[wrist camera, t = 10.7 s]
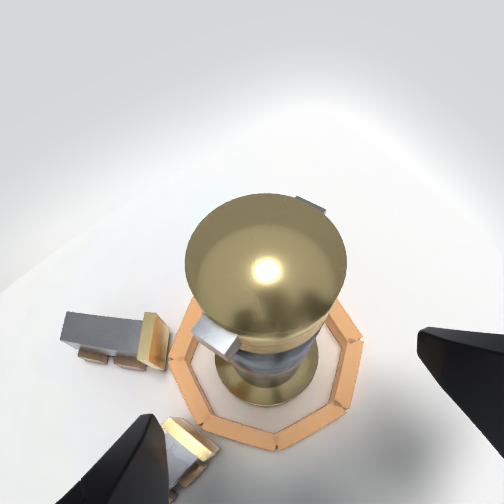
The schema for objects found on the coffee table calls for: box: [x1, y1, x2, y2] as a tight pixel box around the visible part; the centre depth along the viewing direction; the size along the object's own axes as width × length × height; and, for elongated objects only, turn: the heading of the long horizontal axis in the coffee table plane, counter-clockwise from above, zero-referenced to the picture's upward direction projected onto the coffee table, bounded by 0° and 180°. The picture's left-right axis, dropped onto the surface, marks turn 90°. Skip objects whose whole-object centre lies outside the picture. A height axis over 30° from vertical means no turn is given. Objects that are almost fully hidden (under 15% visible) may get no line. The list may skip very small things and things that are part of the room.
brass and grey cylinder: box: [185, 193, 347, 406], centre depth 13 cm, size 6×6×12 cm
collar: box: [168, 297, 364, 451], centre depth 17 cm, size 11×11×2 cm
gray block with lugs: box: [161, 417, 220, 504], centre depth 13 cm, size 7×3×4 cm, turn 142°
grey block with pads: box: [60, 311, 170, 371], centre depth 17 cm, size 7×3×4 cm, turn 87°
